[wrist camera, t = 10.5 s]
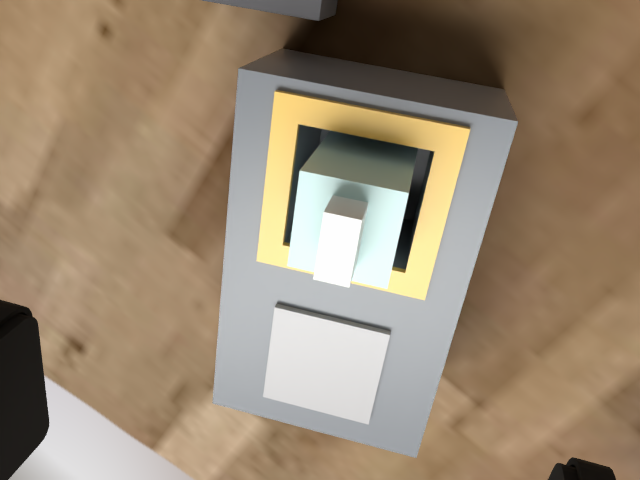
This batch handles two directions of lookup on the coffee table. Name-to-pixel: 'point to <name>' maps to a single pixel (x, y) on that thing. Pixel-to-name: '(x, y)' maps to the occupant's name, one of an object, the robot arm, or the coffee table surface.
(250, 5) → the holster
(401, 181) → the plug
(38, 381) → the robot arm
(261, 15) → the coffee table surface
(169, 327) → the coffee table surface
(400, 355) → the port panel
